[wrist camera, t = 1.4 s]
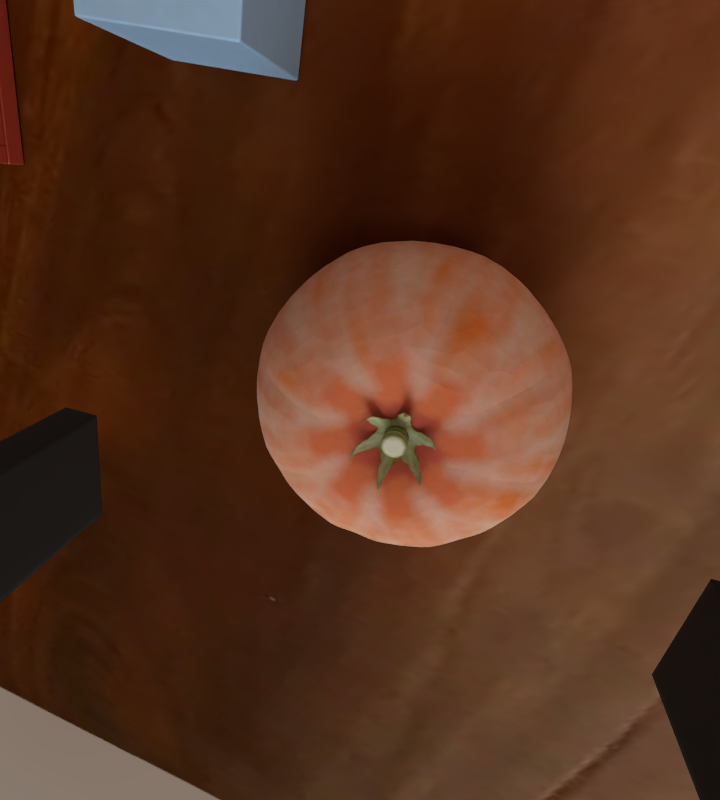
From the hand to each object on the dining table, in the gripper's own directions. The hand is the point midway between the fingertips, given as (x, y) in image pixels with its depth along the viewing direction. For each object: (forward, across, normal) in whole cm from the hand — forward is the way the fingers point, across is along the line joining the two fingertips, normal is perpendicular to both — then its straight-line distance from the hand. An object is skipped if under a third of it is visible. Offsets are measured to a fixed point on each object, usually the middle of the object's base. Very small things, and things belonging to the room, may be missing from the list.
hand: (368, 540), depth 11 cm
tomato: (+12, 0, 0) cm, 12 cm away
